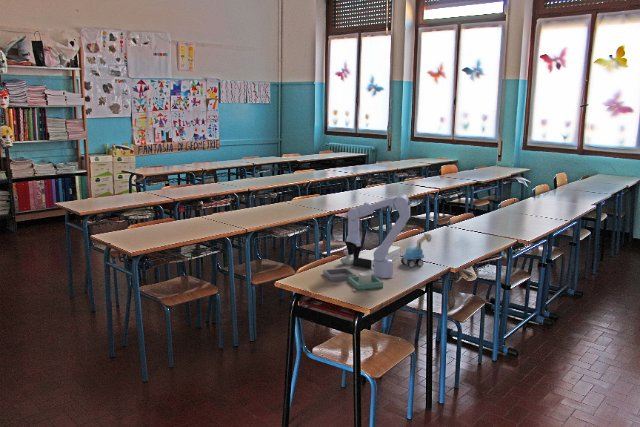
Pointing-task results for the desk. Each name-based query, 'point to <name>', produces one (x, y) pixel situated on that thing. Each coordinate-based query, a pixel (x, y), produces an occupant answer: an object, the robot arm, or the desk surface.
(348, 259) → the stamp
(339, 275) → the bin
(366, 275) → the light gray block
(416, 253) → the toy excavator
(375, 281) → the bin
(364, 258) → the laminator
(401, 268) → the desk surface
